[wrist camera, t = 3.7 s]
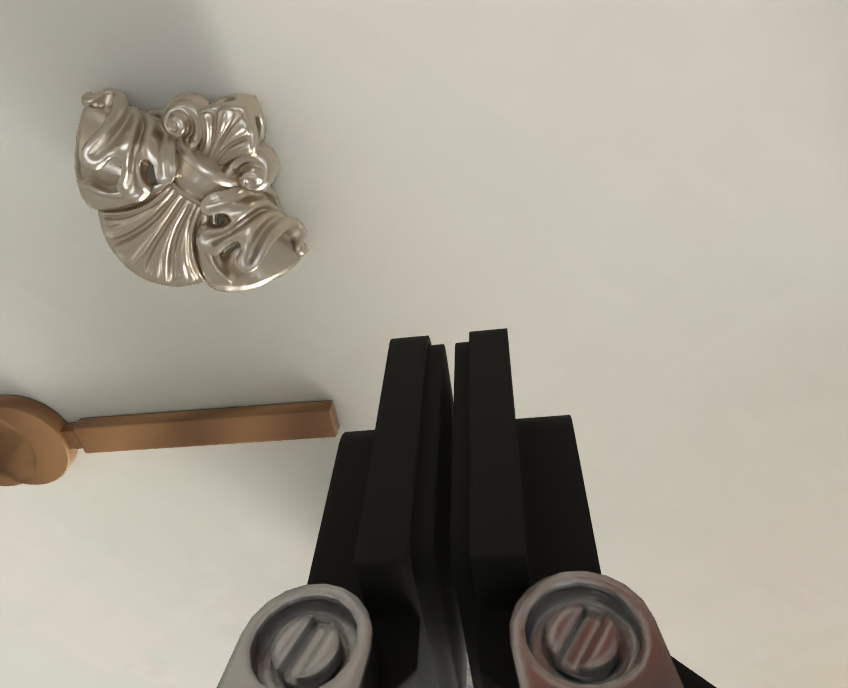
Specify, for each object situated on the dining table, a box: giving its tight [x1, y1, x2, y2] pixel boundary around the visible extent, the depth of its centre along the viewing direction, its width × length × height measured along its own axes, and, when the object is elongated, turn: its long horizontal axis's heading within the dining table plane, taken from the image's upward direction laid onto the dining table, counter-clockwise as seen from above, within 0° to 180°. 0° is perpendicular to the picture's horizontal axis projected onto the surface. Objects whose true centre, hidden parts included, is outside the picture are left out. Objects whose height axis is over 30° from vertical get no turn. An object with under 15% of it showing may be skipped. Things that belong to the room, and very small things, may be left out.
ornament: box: [75, 89, 309, 292], centre depth 22 cm, size 8×7×4 cm
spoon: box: [0, 395, 339, 486], centre depth 30 cm, size 17×4×1 cm, turn 98°
